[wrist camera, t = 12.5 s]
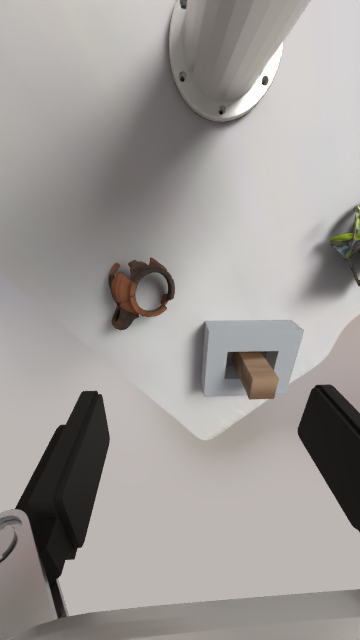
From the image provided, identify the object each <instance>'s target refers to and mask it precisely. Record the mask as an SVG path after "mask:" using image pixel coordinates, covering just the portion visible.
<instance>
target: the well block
mask: <svg viewBox="0 0 360 640" xmlns="http://www.w3.org/2000/svg"><path fill="white" fill-rule="evenodd" d="M303 332H304V330H303V329H302V328H301V327H299V326H298V325H297V324H296V323H295V322H293V321H292V320H261V321H205V332H204V347H203V361H202V375H201V385H202V390H203V394H204V396H239V395H247V393H246V391H245V389H244V386H243V384H242V382H241V380H240V378H239V375H238V373H237V371H236V369H235V366H226V361H227V353H228V352H248V351H266V356H265V359H266V360H267V362H268V363H269V365H270V366H271V367H272V369H273V370H274V372H275V373H276V375H277V376H278V378H279V381H278V385H277V389H276V393H275V394H286V391H287V388H288V384H289V381H290V377H291V374H292V370H293V367H294V363H295V360H296V357H297V353H298V350H299V346H300V343H301V339H302V336H303Z"/></svg>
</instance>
